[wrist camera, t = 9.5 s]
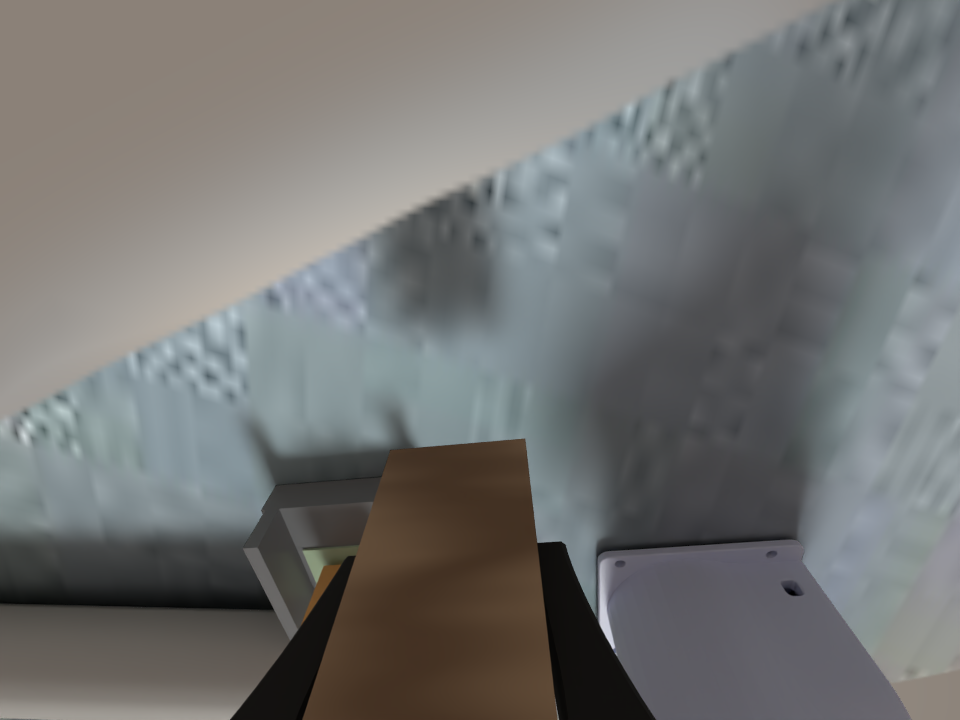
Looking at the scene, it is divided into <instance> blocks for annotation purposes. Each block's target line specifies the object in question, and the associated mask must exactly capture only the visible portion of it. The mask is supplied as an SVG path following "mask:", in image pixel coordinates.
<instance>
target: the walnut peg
mask: <svg viewBox="0 0 960 720" xmlns="http://www.w3.org/2000/svg"><path fill="white" fill-rule="evenodd" d="M303 720H557V712H556V703H555V695H554V686H553V677H552V669H551V660H550V651H549V642H548V634H547V625H546V616H545V607H544V599H543V590H542V581H541V573H540V564H539V555H538V546H537V538H536V529H535V520H534V511H533V503H532V494H531V485H530V477H529V468H528V459H527V450H526V442H525V439H515V440H503V441H492V442H480V443H468V444H456V445H445V446H433V447H421V448H409V449H397V450H390V453H389V456H388V459H387V462H386V465H385V468H384V471H383V474H382V477H381V480H380V484H379V487H378V490H377V493H376V496H375V499H374V502H373V505H372V508H371V511H370V514H369V517H368V520H367V523H366V526H365V530H364V533H363V536H362V539H361V542H360V545H359V548H358V551H357V554H356V557H355V560H354V563H353V566H352V569H351V572H350V576H349V579H348V582H347V585H346V588H345V591H344V594H343V597H342V600H341V603H340V606H339V609H338V612H337V615H336V618H335V622H334V625H333V628H332V631H331V634H330V637H329V640H328V643H327V646H326V649H325V652H324V655H323V658H322V661H321V664H320V667H319V671H318V674H317V677H316V680H315V683H314V686H313V689H312V692H311V695H310V698H309V701H308V704H307V707H306V710H305V713H304V717H303Z"/></svg>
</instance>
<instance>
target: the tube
mask: <svg viewBox="0 0 960 720" xmlns="http://www.w3.org/2000/svg"><path fill="white" fill-rule="evenodd" d="M289 642H290V639H289V637H288V636H287V634H286V632H285V630H284V628H283V626H282V624H281V622H280V620H279V618H278V616H277V614H276V612H275V610H255V609H213V608H171V607H128V606H86V605H43V604H1V603H0V718H16V719H47V720H230V719H231V718H232V716H233V715H234V714H235V713H236V711H237V710H238V709H239V708H240V707H241V705H242V704H243V703H244V702H245V700H246V699H247V698H248V697H249V695H250V694H251V693H252V692H253V690H254V689H255V688H256V686H257V685H258V684H259V682H260V681H261V680H262V678H263V677H264V676H265V674H266V673H267V672H268V670H269V669H270V668H271V666H272V665H273V664H274V662H275V661H276V660H277V659H278V657H279V656H280V655H281V653H282V652H283V650H284V649H285V648H286V646H287V645H288V643H289Z"/></svg>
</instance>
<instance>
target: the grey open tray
mask: <svg viewBox="0 0 960 720" xmlns="http://www.w3.org/2000/svg"><path fill="white" fill-rule="evenodd" d="M380 480H381V477H376V478H363V479H351V480H338V481H326V482H314V483H301V484H289V485H276V486H275V488H274V490H273V491H272V493H271V495H270V496H269V498H268V500H267V501H266V503H265V505H264V506H263V508H262V510H261V511H262V513H263V515H262V517H261V519H260V520H259V522H258V524H257V525H256V527H255V529H254V530H253V532H252V534H251V535H250V537H249V539H248V540H247V542H246V544H245V545H244V547H243V550H244V552H245V554H246V556H247V558H248V560H249V562H250V564H251V566H252V568H253V570H254V571H255V573H256V575H257V577H258V579H259V581H260V583H261V585H262V587H263V589H264V591H265V593H266V595H267V597H268V599H269V601H270V603H271V604H272V606H273V608H274V610H275V612H276V614H277V616H278V618H279V620H280V622H281V624H282V626H283V628H284V630H285V632H286V634H287V636H288V637H289V639H290V641H291V639H292V638H293V636H294V635H295V633H296V632H297V631H298V629H299V628H300V626H301V624H302V621H303V618H304V616H305V613H306V611H307V608H308V605H309V603H310V600H311V598H312V595H313V592H314V590H315V587H316V584H317V582H318V579H319V577H320V574H321V571H322V569H323V566H325V565H340V564H342V563H343V561H344V560H345V559H346V558H347V557H348V556H355V555H356V554H357V551H358V548H359V545H360V542H361V539H362V536H363V533H364V530H365V526H366V523H367V520H368V517H369V514H370V511H371V508H372V505H373V502H374V499H375V496H376V493H377V490H378V487H379V484H380Z"/></svg>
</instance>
